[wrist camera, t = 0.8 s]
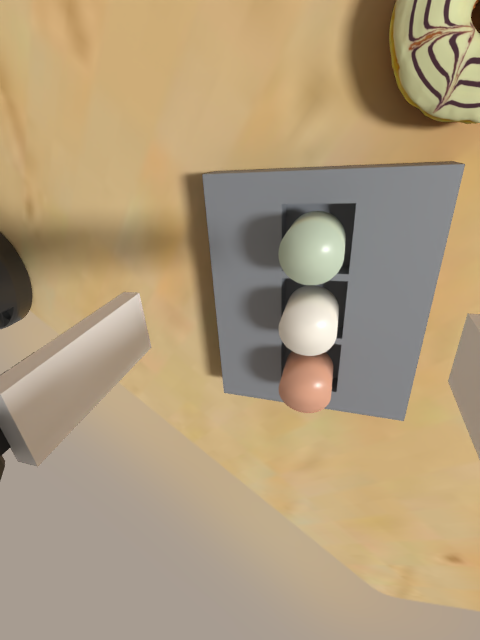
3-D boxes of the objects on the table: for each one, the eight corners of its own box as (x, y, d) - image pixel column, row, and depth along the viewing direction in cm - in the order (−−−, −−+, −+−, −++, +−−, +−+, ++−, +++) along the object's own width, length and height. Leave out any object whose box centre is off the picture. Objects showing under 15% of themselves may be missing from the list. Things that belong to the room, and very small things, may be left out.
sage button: (287, 265, 27) (278, 283, 24) (288, 210, 25) (278, 221, 22) (342, 268, 26) (341, 287, 23) (348, 210, 24) (347, 222, 21)
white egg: (286, 328, 30) (278, 352, 27) (287, 283, 28) (278, 303, 25) (336, 333, 29) (334, 359, 26) (341, 286, 27) (339, 308, 24)
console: (232, 376, 39) (224, 392, 36) (215, 171, 28) (202, 174, 26) (399, 399, 34) (403, 420, 31) (452, 161, 23) (465, 164, 21)
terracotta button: (286, 381, 33) (278, 408, 30) (286, 343, 31) (278, 368, 28) (331, 387, 32) (329, 416, 28) (335, 348, 30) (333, 375, 26)
